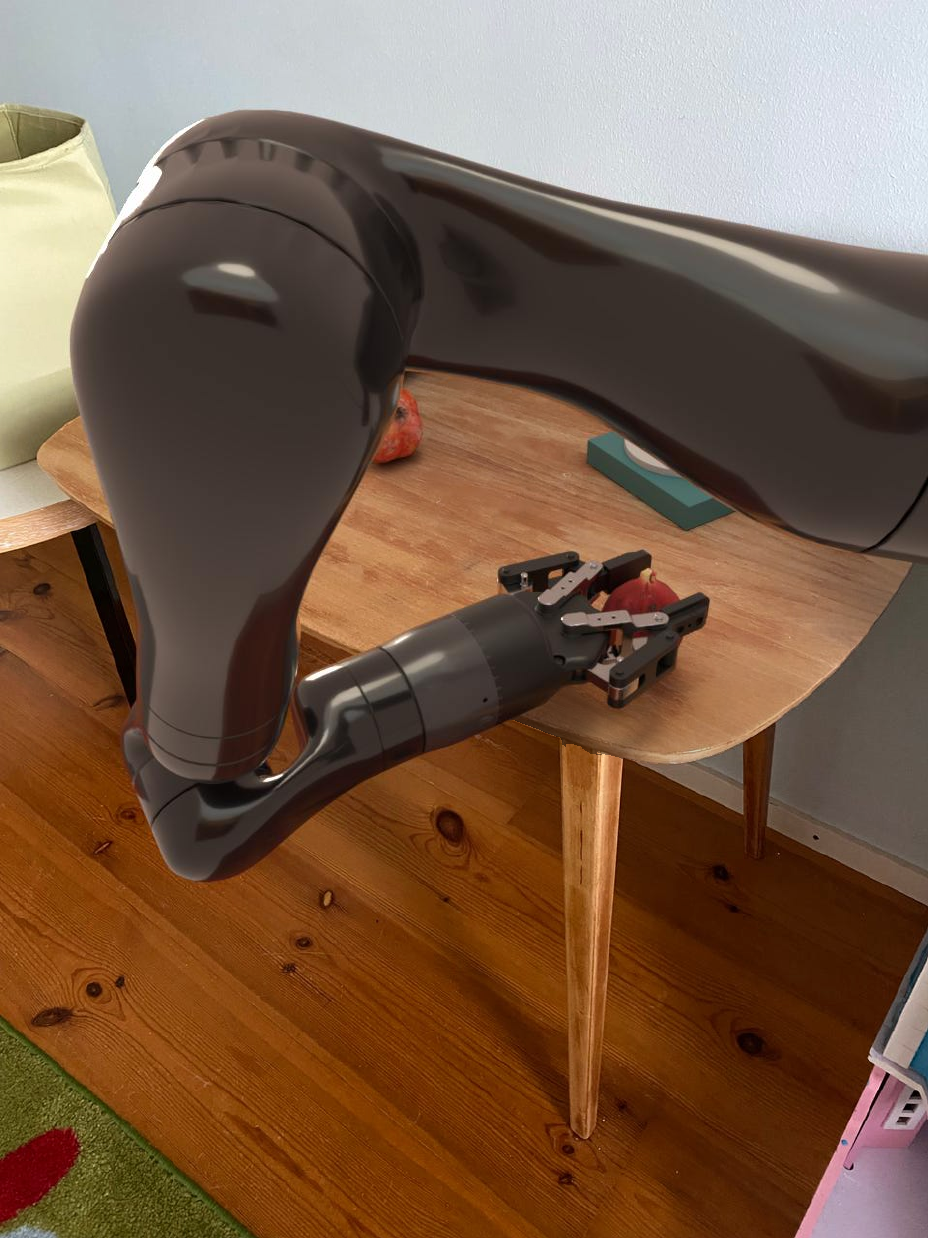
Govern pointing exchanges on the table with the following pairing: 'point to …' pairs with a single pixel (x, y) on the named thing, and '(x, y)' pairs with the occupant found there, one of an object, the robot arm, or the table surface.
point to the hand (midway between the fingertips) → (674, 583)
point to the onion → (640, 598)
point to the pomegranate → (402, 431)
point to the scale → (653, 482)
